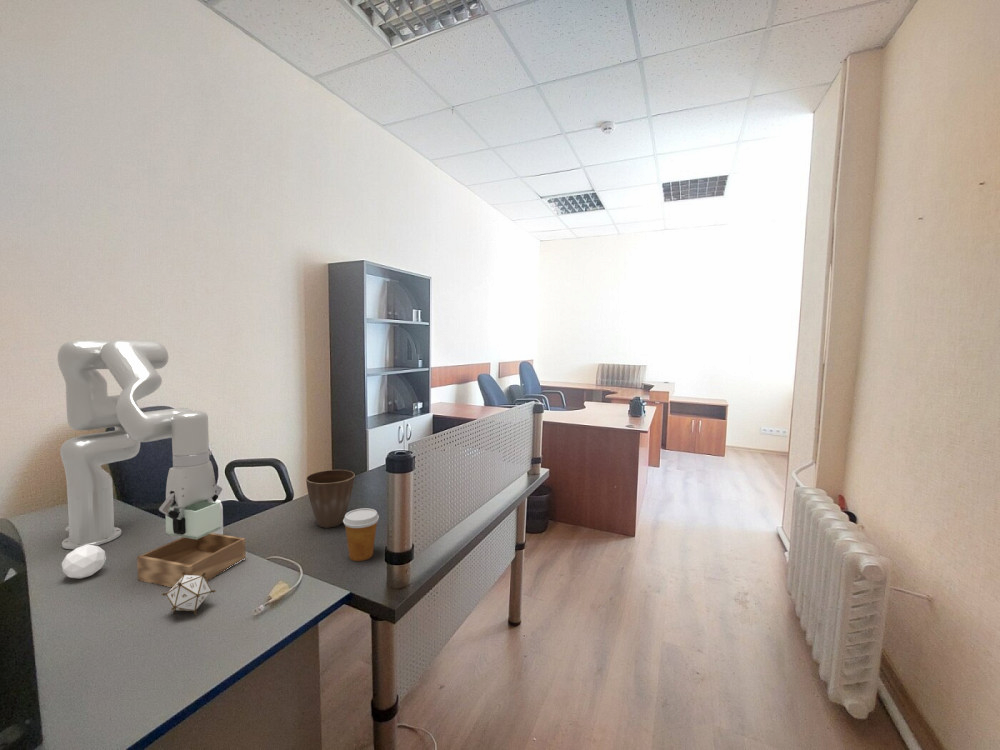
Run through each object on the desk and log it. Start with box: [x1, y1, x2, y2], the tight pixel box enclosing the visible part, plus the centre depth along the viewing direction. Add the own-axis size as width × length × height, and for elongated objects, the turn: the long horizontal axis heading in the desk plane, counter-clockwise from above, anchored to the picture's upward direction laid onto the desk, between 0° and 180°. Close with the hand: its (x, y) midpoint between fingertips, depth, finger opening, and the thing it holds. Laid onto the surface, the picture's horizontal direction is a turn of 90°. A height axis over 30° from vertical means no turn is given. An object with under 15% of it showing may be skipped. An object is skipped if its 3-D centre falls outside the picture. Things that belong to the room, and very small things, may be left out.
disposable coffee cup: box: [342, 507, 380, 562], centre depth 116 cm, size 10×10×12 cm
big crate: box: [136, 533, 246, 588], centre depth 108 cm, size 17×16×6 cm
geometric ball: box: [61, 544, 107, 580], centre depth 104 cm, size 8×8×8 cm
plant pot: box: [305, 469, 356, 529], centre depth 137 cm, size 15×15×16 cm
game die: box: [160, 571, 217, 615], centre depth 91 cm, size 9×8×10 cm
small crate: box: [165, 501, 221, 539], centre depth 107 cm, size 10×7×7 cm, turn 75°
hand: (193, 526), depth 107 cm, fingers closed on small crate, 6 cm apart
